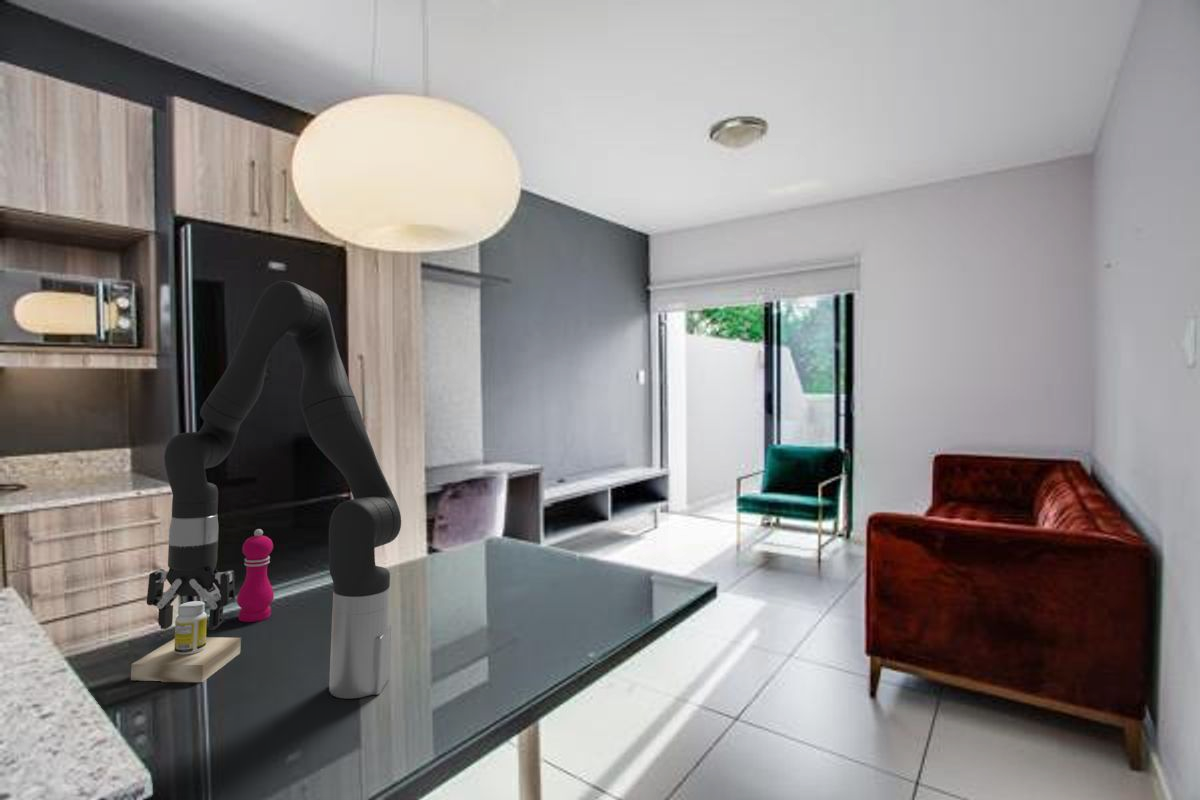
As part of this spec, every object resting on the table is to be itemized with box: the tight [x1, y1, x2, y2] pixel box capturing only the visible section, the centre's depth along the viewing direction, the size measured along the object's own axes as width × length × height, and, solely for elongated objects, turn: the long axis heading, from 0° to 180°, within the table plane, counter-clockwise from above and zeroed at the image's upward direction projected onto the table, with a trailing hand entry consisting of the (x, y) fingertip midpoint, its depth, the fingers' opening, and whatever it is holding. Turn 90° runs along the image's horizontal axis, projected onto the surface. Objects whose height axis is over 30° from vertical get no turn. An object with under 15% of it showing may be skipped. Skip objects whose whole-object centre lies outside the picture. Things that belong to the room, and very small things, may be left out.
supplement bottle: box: [174, 600, 208, 655], centre depth 108 cm, size 5×5×8 cm
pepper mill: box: [236, 528, 275, 623], centre depth 133 cm, size 7×7×20 cm
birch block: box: [130, 636, 242, 683], centre depth 108 cm, size 12×12×3 cm
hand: (190, 627), depth 108 cm, fingers open, 8 cm apart
